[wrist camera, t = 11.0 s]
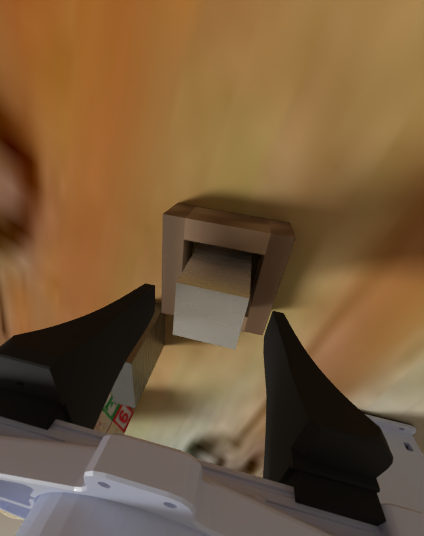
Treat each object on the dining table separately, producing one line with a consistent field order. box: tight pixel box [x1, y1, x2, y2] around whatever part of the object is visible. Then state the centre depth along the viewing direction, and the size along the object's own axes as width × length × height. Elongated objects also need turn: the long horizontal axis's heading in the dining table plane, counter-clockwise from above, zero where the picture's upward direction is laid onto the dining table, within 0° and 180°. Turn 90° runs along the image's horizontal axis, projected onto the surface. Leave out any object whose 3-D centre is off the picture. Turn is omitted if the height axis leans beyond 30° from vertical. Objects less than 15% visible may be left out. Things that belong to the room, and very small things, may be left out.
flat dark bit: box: [112, 302, 165, 408], centre depth 21 cm, size 2×6×7 cm, turn 173°
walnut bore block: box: [161, 203, 295, 335], centre depth 18 cm, size 8×8×3 cm
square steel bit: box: [173, 243, 252, 349], centre depth 16 cm, size 4×4×7 cm
